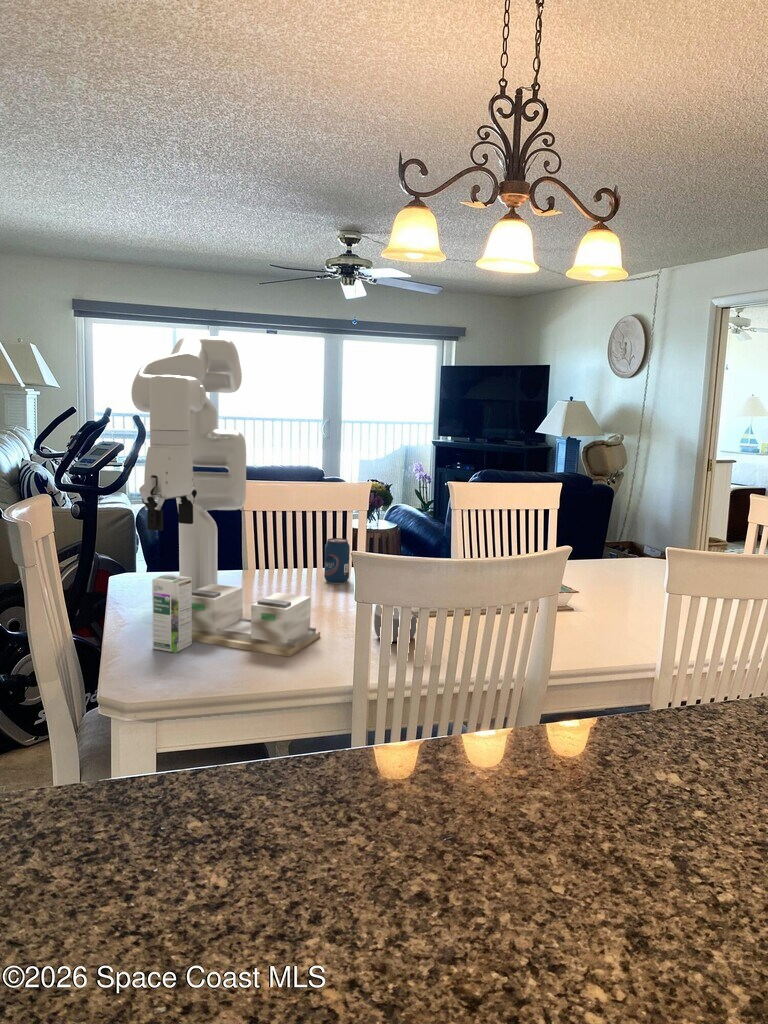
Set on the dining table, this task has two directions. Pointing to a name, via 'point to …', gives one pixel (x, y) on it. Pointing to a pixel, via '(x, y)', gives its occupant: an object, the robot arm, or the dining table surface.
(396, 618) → the smart speaker
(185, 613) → the syrup box
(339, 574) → the soda can
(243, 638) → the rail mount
